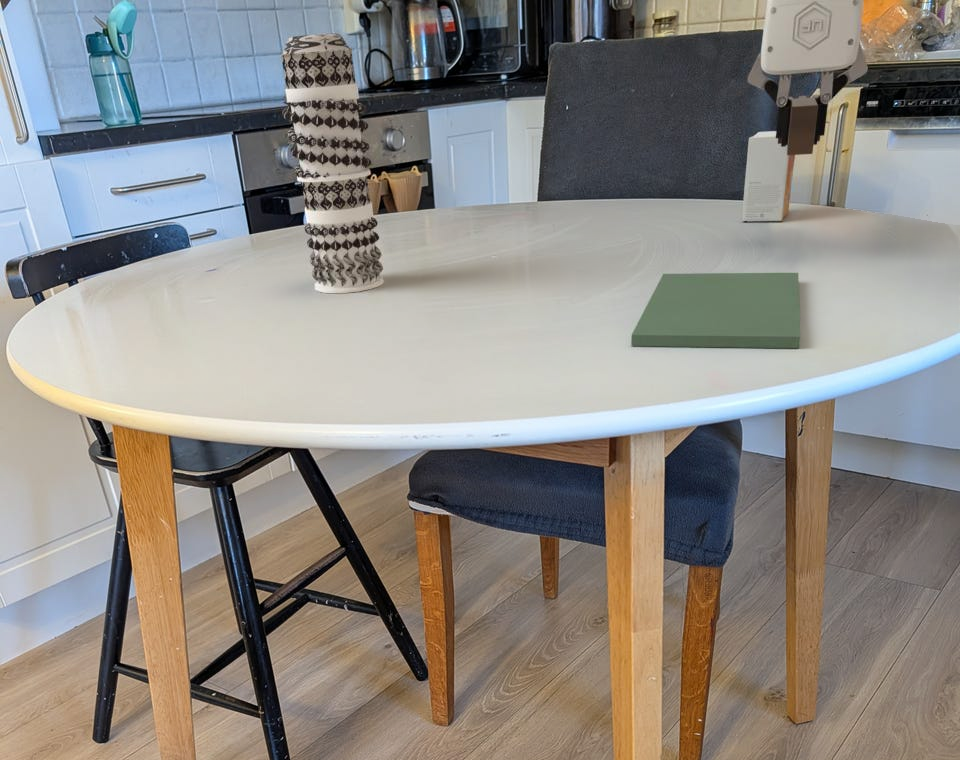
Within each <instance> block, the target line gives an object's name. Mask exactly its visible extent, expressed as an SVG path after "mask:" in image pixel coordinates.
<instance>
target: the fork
mask: <svg viewBox="0 0 960 760" xmlns="http://www.w3.org/2000/svg"><path fill="white" fill-rule="evenodd" d="M819 95H820V94H812V95H811V96H810V97H807V95H799V96H798V97H797V98H796V97H795V98H793V96H788V98H789V99H790V107H791V113H790V123H789V133H788V142H787V155H795V156H800V155H813V152H814V146H815V145H814V137H815V128H816V119H817V111H818V104H817V98H818V97H819ZM820 141H821V136H818V140H817V143H818V142H820ZM781 142H782V138H778V144H781Z"/></svg>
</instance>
